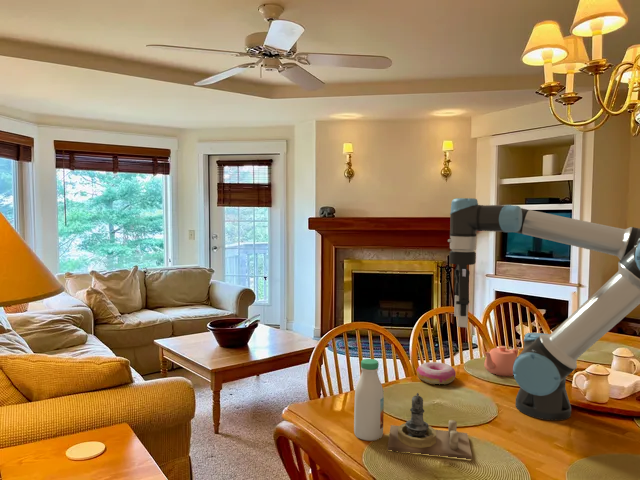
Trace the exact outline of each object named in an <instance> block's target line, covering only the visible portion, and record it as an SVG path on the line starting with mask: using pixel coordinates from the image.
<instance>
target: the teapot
mask: <svg viewBox="0 0 640 480" xmlns="http://www.w3.org/2000/svg"><path fill="white" fill-rule="evenodd" d="M484 353H485V360H484V364H483V365H484V368H485V370H486V371H487V372H488V371H489V372H488V373H491V374H492V373H493V374H492V375H495V374H496V376H499V377H514V376H513V365H514V361H515V359H516V358H517V357H518V354H519V350H518V349H517V348H512V349H508V348H507V347H506V346H505V345H500V346H498V347H494V348H491V349H490V351H489V352H488V351H484Z"/></svg>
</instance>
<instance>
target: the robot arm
mask: <svg viewBox="0 0 640 480" xmlns="http://www.w3.org/2000/svg"><path fill="white" fill-rule="evenodd" d="M450 205H451V206H450V213H449V217H450V221H449V223H450V224H449V225H450V226H449V228H450V229H449V239H447V242H448V243H449V249H450V251H449V256H448V257H449V259H448V262H449V264H450V265H455V269H454V289H453V291H454V305H453V306H454V309H453V310H454V311H453V312H454V313H453V316H454V317H457V325H456V326H457V327H458V328H468V327H469V326H468V322H469V319H468V318H469V304H470V296H469V295H470V293H469V291H470V290H469V289H470V288H469V287H470V285H469V284H470V275H471V274H470V270H469V268H468V265H469V266H473V265H475V264H476V259H477V256H476V255H477V253H476V250H477V233H478V232H477V231H479V232H493V233H494V232H496V233H497V232H498V233H499V232H500V233H502V232H503V233H517V234H522V235H525V236H530V237H535V238H539V239H543V240H548V241H552V242H556V243H560V244H565V245H569V246H572V247H577V248H581V249H584V250H585V249H586V250H588V251H589V250H590V251H594V252H599V253H602V254H607V255H610V256H615V257H617V258H618V259H619V261H618V263H617V265H618V266H617V267H618V271H617V272H615V274H614V275H613V276H611V277H610V278H609V279H608V280H607V281H606V282H605V283H604V284H603V285H602V286H601V287H600V288H598V290H596V292H595V293H593V294H592V295H591V296H590V297H589V298H587V300H586V301H585V302H584V303H582V305H580V306H579V307H578V308H577V309H576V310H575V311H573V313H572V314H571V315H569V316H568V317H567V318H566V319H565V320H564V321H563V322H562V323H561V324H560V325H559V326H558V327H557V328H555V330H553V331H552V332H551V333H542V332H541V333H540V332H526V333H525V335H524V338H523V344H524V345H523V350H522V351H520V353H519V355H517V358H516V359H515V361H514V365H513V375H514V376H513V378H514V380H515V382H516V384H517V385H518V386H519V389H518V391H517V394H516V397H515V408H516V409H517V410H518V411H519V412H521V413H523V414H525V415H527V416H530V417H532V418H534V419H535V418H537V419H539V420H540V419H541V420H545V421H546V420H547V421H563V420H568V419H569V418H570V417H571V416H572V406H571V403H570V400H569V396H568V393H567V390H566V384H567V383H566V379H567V378H566V377H568V376H569V375H570V374H572V372H574V371H575V370H576V369H577V368H578V365H577V359H579V358H580V357H581V356H582V355H583V354H584V353H585V352H587V351H588V350H589V349H590V348H591V347H592V346H594V345H595V344H596V343H597V342H598V341H599V340H600V339H601V338H603V337H604V336H605V335H606V334H607V333H608V332H610V331H611V330H612V329H613V328H614V327H615V326H616V325H617V324H619V323H620V322H621V321H622V320H623V319H624V318H625V317H626V316H627V315H629V314H630V313H631V312H632V311H634V309H636V308H637V306H639V305H640V227H634V226H630V227H628V228H620V227H616V226H615V227H614V226H611V225H605V224H601V223H595V222H591V221H586V220H582V219H576V218H571V217H565V216H561V215H556V214H552V213H546V212H543V211H536V210H531V209H526V208H523V207H521V206H520V205H515V204H514V205H512V204H497V205H496V204H495V205H493V204H492V205H491V204H490V205H489V204H488V205H487V204H486V205H485V204H484V205H483V204H479V203H478V198H470V197H469V198H468V197H467V198H464V197H461V198H459V197H458V198H457V197H456V198H454V199H452V200H451V203H450Z"/></svg>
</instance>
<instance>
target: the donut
mask: <svg viewBox="0 0 640 480" xmlns="http://www.w3.org/2000/svg"><path fill="white" fill-rule="evenodd" d="M456 373H457V372H456V371H455V368H454V367H453V366H451V365H450V364H447V363H443V362H437V361H431V362H430V361H429V362H424V363H421V364H420V365H418V367H417V368H416V374H417V377H418V378H419V379H420V380H421V381H423V382H424V383H427V384H431V385H435V384H439V386H441V385H440V384H444V385H448V384H450V383H452V382H453V381H455V378H456V375H457V374H456Z"/></svg>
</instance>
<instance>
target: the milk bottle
mask: <svg viewBox="0 0 640 480" xmlns="http://www.w3.org/2000/svg"><path fill="white" fill-rule="evenodd" d="M379 365H380V364H379V360H377V359H374V358H365V359H362V360H361V361H360V370H361V374H360V376H359V379H358V381H357V383H356V385H355V391H354V410H353V411H354V412H353V416H354V417H353V418H354V419H353V432H354V435H355V437H356V438H357V439H359V440H362V441H368V442H369V441H370V442H373V441H378V440H380V439H381V438H382V437H383V436H384V413H385V411H384V410H385V406H384V405H385V401H384V399H385V398H384V388H383V385H382V383H381V379H380V377H379V373H378V371H379ZM379 438H380V439H379ZM377 439H378V440H377Z"/></svg>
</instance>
